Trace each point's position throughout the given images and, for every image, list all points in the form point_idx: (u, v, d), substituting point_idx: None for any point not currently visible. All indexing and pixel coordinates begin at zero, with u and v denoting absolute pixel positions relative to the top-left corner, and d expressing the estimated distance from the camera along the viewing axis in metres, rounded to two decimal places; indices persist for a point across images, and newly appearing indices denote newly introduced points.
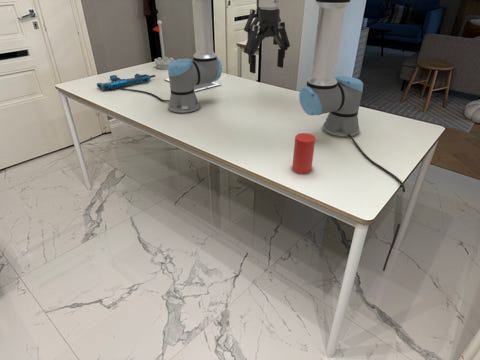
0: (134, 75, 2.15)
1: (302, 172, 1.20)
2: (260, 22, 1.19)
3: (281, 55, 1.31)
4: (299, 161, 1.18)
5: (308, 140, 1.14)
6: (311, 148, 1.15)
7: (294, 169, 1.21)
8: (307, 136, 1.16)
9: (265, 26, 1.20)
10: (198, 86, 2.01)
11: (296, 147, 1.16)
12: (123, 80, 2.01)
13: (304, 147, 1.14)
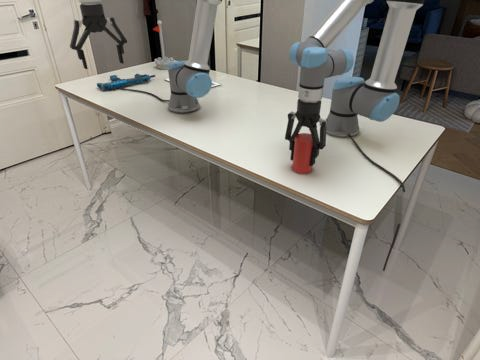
0: (134, 75, 2.15)
1: (302, 172, 1.20)
2: (82, 17, 1.19)
3: (119, 51, 1.30)
4: (299, 161, 1.18)
5: (308, 140, 1.14)
6: (311, 148, 1.15)
7: (294, 169, 1.21)
8: (307, 136, 1.16)
9: (88, 21, 1.20)
10: None
11: (296, 147, 1.16)
12: (123, 80, 2.01)
13: (304, 147, 1.14)
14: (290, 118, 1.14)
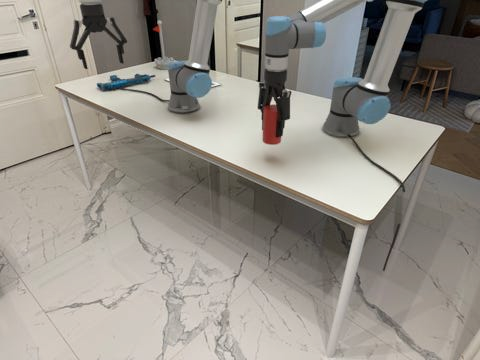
0: (134, 75, 2.15)
1: (268, 143, 1.22)
2: (82, 17, 1.19)
3: (119, 51, 1.30)
4: (265, 131, 1.21)
5: (274, 110, 1.17)
6: (276, 119, 1.17)
7: (262, 139, 1.24)
8: (276, 107, 1.19)
9: (88, 21, 1.20)
10: None
11: (263, 116, 1.20)
12: (123, 80, 2.01)
13: (269, 117, 1.17)
14: (261, 87, 1.18)
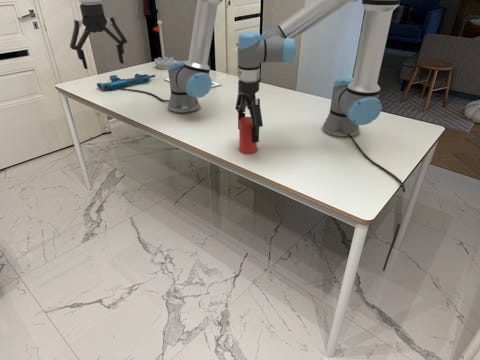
0: (134, 75, 2.15)
1: (242, 151, 1.33)
2: (82, 17, 1.19)
3: (119, 51, 1.30)
4: (240, 140, 1.31)
5: (247, 122, 1.27)
6: (248, 130, 1.27)
7: (239, 147, 1.35)
8: (251, 120, 1.28)
9: (88, 21, 1.20)
10: None
11: (239, 126, 1.30)
12: (123, 80, 2.01)
13: (242, 128, 1.27)
14: (239, 93, 1.28)
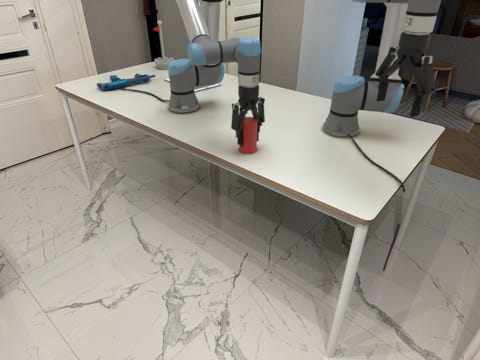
0: (134, 75, 2.15)
1: (242, 151, 1.33)
2: (240, 98, 1.22)
3: None
4: None
5: (247, 122, 1.27)
6: (248, 130, 1.27)
7: (239, 147, 1.35)
8: (251, 120, 1.28)
9: (245, 101, 1.22)
10: (198, 86, 2.01)
11: None
12: (123, 80, 2.01)
13: (242, 128, 1.27)
14: (390, 53, 0.99)
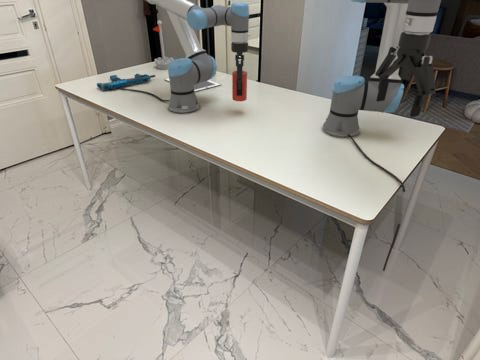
0: (134, 75, 2.15)
1: (241, 100, 1.61)
2: (239, 53, 1.49)
3: None
4: None
5: (243, 73, 1.56)
6: (245, 80, 1.57)
7: (235, 99, 1.61)
8: None
9: (242, 56, 1.51)
10: (198, 86, 2.01)
11: (234, 80, 1.56)
12: (123, 80, 2.01)
13: None
14: (390, 53, 0.99)
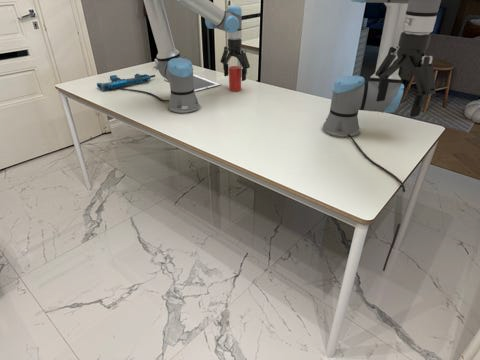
0: (134, 75, 2.15)
1: (240, 89, 1.96)
2: (239, 47, 1.82)
3: (227, 67, 1.95)
4: (238, 82, 1.93)
5: (238, 67, 1.91)
6: None
7: (236, 90, 1.94)
8: (234, 67, 1.91)
9: None
10: (198, 86, 2.01)
11: (235, 74, 1.89)
12: (123, 80, 2.01)
13: (240, 72, 1.90)
14: (390, 53, 0.99)
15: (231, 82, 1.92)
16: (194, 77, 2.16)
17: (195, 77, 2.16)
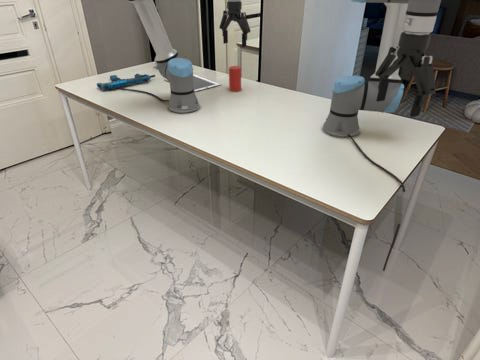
0: (134, 75, 2.15)
1: (240, 89, 1.96)
2: (239, 10, 1.72)
3: (226, 34, 1.85)
4: (238, 82, 1.93)
5: (238, 67, 1.91)
6: None
7: (236, 90, 1.94)
8: (234, 67, 1.91)
9: None
10: (198, 86, 2.01)
11: (235, 74, 1.89)
12: (123, 80, 2.01)
13: (240, 72, 1.90)
14: (390, 53, 0.99)
15: (231, 82, 1.92)
16: (194, 77, 2.16)
17: (195, 77, 2.16)
